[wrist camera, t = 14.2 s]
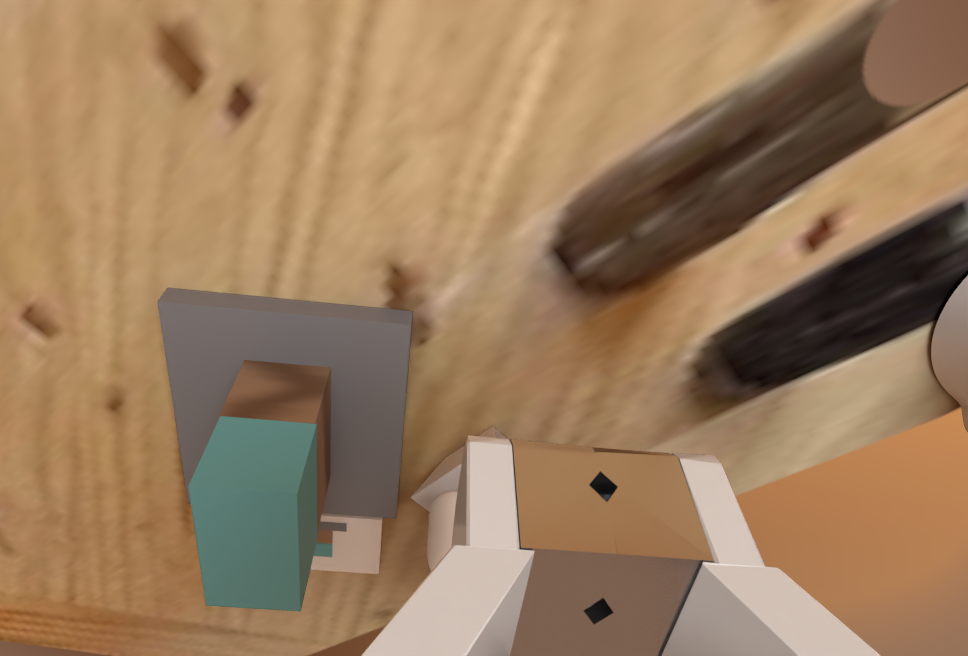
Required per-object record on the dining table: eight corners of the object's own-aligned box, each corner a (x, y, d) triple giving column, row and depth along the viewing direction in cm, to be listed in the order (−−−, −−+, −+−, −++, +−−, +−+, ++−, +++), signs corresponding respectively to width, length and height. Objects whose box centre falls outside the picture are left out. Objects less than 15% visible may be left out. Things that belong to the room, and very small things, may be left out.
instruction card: (382, 515, 51) (382, 520, 50) (379, 569, 54) (378, 575, 54) (212, 503, 50) (209, 508, 49) (218, 559, 53) (216, 564, 53)
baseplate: (412, 311, 41) (411, 325, 40) (397, 502, 50) (396, 518, 49) (167, 287, 40) (157, 301, 39) (195, 487, 49) (188, 503, 48)
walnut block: (331, 367, 42) (315, 423, 38) (330, 477, 47) (316, 537, 42) (244, 359, 41) (218, 415, 37) (253, 471, 46) (231, 531, 42)
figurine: (483, 391, 45) (488, 595, 32) (574, 471, 49) (609, 682, 36) (402, 448, 47) (377, 658, 35) (494, 520, 51) (502, 732, 39)
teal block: (316, 424, 38) (297, 493, 33) (317, 537, 42) (300, 611, 38) (220, 415, 37) (188, 485, 33) (232, 531, 42) (205, 605, 38)
